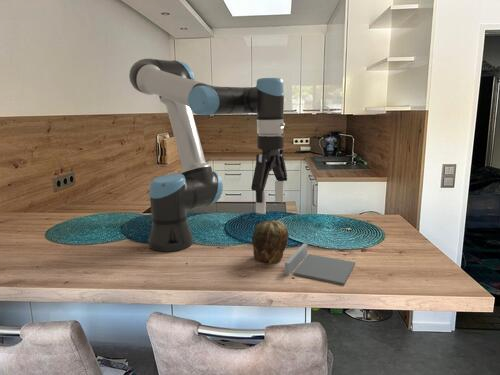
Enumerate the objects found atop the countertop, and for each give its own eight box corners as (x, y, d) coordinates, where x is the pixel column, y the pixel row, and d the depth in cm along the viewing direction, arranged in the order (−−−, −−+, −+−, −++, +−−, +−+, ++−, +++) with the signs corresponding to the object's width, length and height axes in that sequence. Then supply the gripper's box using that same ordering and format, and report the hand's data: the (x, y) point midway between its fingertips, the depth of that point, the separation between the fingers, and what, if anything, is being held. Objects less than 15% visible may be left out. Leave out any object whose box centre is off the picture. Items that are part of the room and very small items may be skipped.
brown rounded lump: (286, 267, 103) (286, 228, 101) (249, 265, 105) (248, 226, 103) (290, 252, 114) (290, 216, 111) (256, 250, 116) (255, 215, 113)
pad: (293, 274, 99) (293, 272, 99) (309, 255, 111) (309, 254, 111) (344, 285, 93) (344, 282, 93) (355, 264, 105) (355, 262, 105)
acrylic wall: (284, 274, 99) (284, 262, 98) (303, 253, 113) (303, 243, 112) (288, 275, 99) (288, 263, 98) (307, 254, 112) (307, 243, 112)
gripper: (263, 139, 89) (264, 220, 93) (297, 132, 110) (297, 198, 115) (237, 138, 92) (239, 217, 97) (275, 131, 114) (275, 196, 118)
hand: (270, 207), depth 106 cm, fingers open, 13 cm apart
